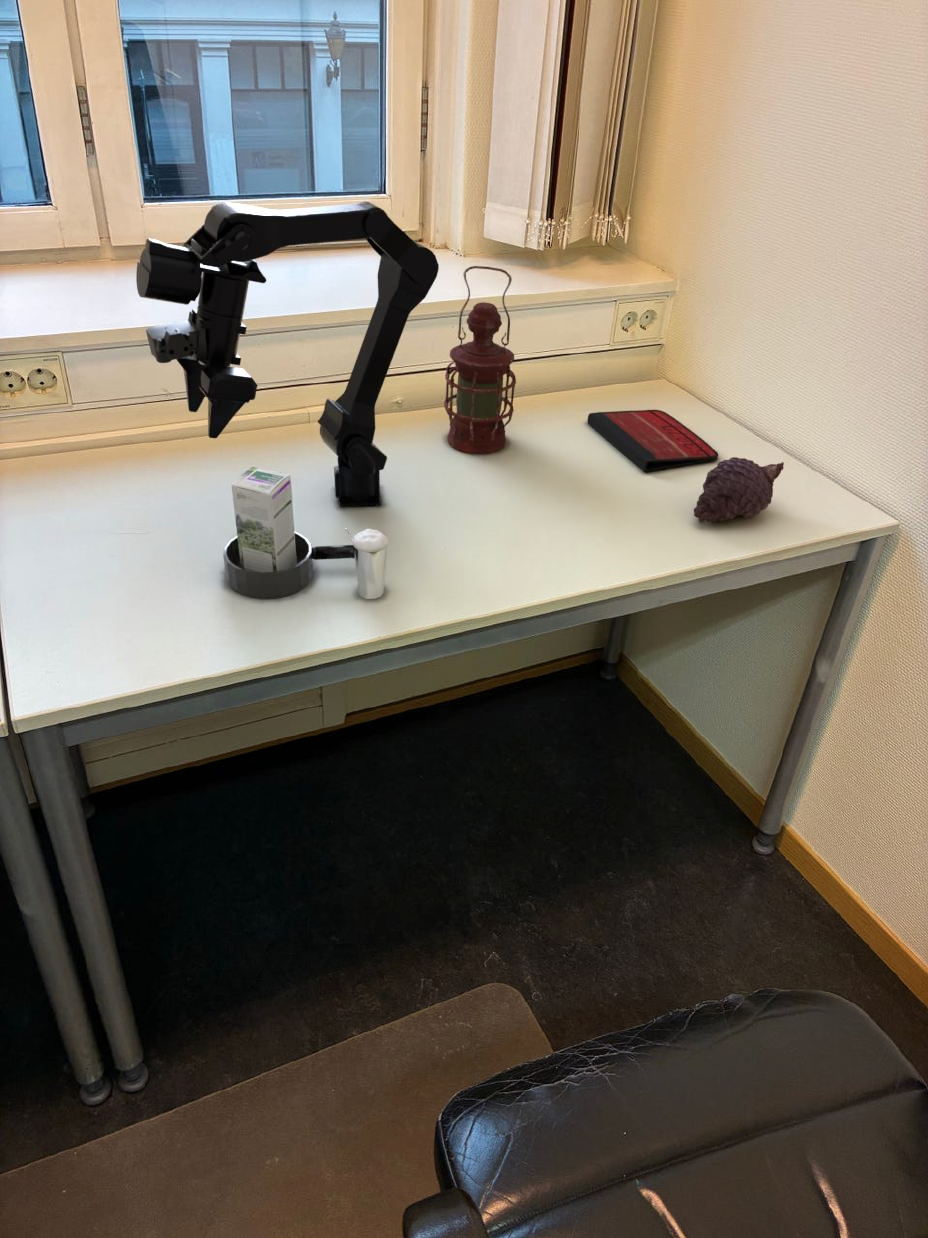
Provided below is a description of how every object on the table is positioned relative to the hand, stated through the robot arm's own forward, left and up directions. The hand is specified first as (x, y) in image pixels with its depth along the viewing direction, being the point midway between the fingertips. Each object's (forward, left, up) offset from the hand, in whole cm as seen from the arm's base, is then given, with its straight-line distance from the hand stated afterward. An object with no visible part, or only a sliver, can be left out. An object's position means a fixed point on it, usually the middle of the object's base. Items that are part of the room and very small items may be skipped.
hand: (202, 424), depth 125 cm
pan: (-8, +13, -16) cm, 22 cm away
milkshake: (-21, +19, -17) cm, 33 cm away
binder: (-76, -25, -17) cm, 81 cm away
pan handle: (-18, +13, -14) cm, 27 cm away
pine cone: (-80, +1, -17) cm, 81 cm away
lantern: (-44, -27, -17) cm, 54 cm away
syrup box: (-8, +13, -16) cm, 22 cm away
